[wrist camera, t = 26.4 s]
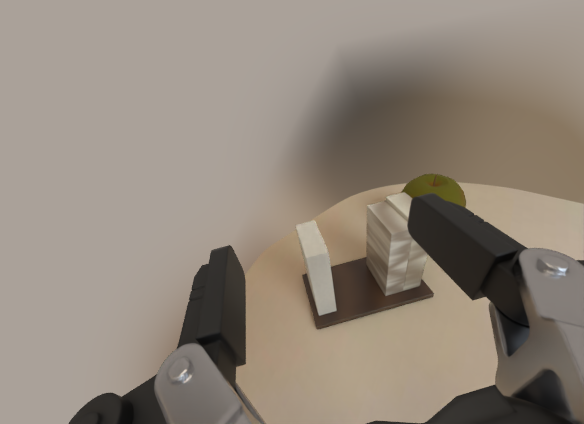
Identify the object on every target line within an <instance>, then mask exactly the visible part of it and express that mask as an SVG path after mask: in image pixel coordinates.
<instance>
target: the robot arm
mask: <svg viewBox="0 0 584 424" xmlns="http://www.w3.org/2000/svg"><path fill="white" fill-rule="evenodd" d="M407 228H408V232H409V234H410V236H411V237H412V238H413V239H414V240H415V241H416V242H417V243H418V245H419V246H420V247H421V248H422V249H423V250H424V251H425V252H426V253H427V254H428V255H429V256H430V257H431V258H432V259H433V260H434V261H435V262H436V263H437V264H438V265H439V266H440V267H441V268H442V269H443V270H444V271H445V272H446V274H447V275H448V276H449V277H450V278H451V279H452V280H453V281H454V282H455V283H456V284H457V285H458V286H459V287H460V288H461V289H462V290H463V291H464V292H465V293H466V294H467V295H468V296H469V297H470V298H471V299H472V300H476V299H479V298H483V297H487V298H488V299H489V300H490V301H491V302H490V303H489V312H490V317H491V323H492V328H493V333H494V339H495V344H496V350H497V355H498V368H497V371H496V378H495V385H492V386H489V387H486V388H482V389H479V390H476V391H473V392H469V393H466V394H463V395H459V396H457V397H455V398H454V399H453V400H452V401H451V402H450V403H448V404H447V405H446V406H445V407H444V408H442V409H441V410H440V411H439V412H438V413H437V414H435V415H434V416H433V417H432V418H431V419H430V420H428V421H427V422H425V423H404V422H388V421H374V422H370V423H367V424H584V260H574V259H573V258H571V257H569V256H567V255H565V254H562V253H559V252H556V251H553V250H549V249H543V248H530V249H528V248H526V247H525V246H523V245H521V244H520V243H518V242H517V241H515V240H514V239H512V238H511V237H509V236H508V235H506V234H505V233H503V232H501V231H500V230H498V229H497V228H495V227H494V226H492V225H491V224H489V223H488V222H484V220H483V219H481V218H480V217H478V216H477V215H474V213H472V212H471V211H469V210H468V209H466V208H465V207H463V206H461V205H458V204H455V203H452V202H450V201H445V200H444V199H442V198H441V197H439V196H438V195H437V194H435V193H428V194H425V195H421V196H417V197H414V198H413V199H412V200H411V205H410V211H409V217H408V223H407ZM189 300H190V301H189V302H188V306H187V310H186V315H185V319H184V323H183V327H182V332H181V336H180V340H179V344H178V347H177V349H176V350H175V351H174V352H172V353H171V354H170V355H169V356H168V357H167V359H166V360H165V361H164V362H163V364H162V365H161V367H160V369H159V371H158V374H156V375H155V376H154V377H152V378H151V379H149V380H148V381H146V382H145V383H143V384H141V385H140V386H138V387H137V388H135V389H133V390H132V391H130V392H129V393H127V394H126V395H124V396H122V397H121V396H118V395H116V394H114V393H105V394H102V395H100V396H97V397H96V398H94V399H92V400H91V401H90V402H88V403H87V404H86V405H85V406H84V407H82V408H81V409H80V410H79V412H77V414H76V415H75V416H74V417H73V418H72V419H71V421H70V422H69V424H266V423H265V421H264V420H263V419H262V417H261V416H260V415H259V413H258V412H257V410H256V409H255V408H254V406H253V405H252V404H251V402H250V401H249V399H248V398H247V397H246V395H245V394H244V392H243V391H242V390H241V388H240V387H239V386H238V384H237V383H236V382H235V381H236V367H237V366H241V365H244V364H246V295H245V275H244V271H243V269H242V266H241V264H240V262H239V260H238V258H237V256H236V254H235V253H234V250H233V248H232V247H231V246H230V245H229V246H225V247H222V248H218V249H214V250H212V251H211V254H210V260H209V264H206V265H202V266H201V268H200V269H199V271H198V272H197V274H196V275H195V277H194V281H193V285H192V291H191V294H190V298H189Z"/></svg>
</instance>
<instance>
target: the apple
mask: <svg viewBox="0 0 584 424" xmlns="http://www.w3.org/2000/svg"><path fill="white" fill-rule="evenodd" d="M403 192H405V193H406V194H407V195H409V196H410V197H411V198H412V199H413V198H414V197H417V196H421V195H425V194H428V193H435V194H437V195H438V196H439V197H441V198H442V199H444V200H445V201H450V202H452V203H455V204H458V205H461V206H463V207H465V206H466V199H465V196H464V192H463V190H462V189H461V187H460V186H459V185H458V184H457V183H456V182H455V181H454V180H453V179H451V178H449V177H445V176H442V175H438V174H425V175H422V176H420V177H418V178H416V179H414V180H412V181H410V182H409V183H408V184H407V185H406V186H405V188H404V189H403V191H402V192H401V193H403Z"/></svg>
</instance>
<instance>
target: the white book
mask: <svg viewBox="0 0 584 424" xmlns="http://www.w3.org/2000/svg"><path fill="white" fill-rule="evenodd" d="M296 230H297V234H298V238H299V242H300V246H301V250H302V255H303V259H304V263H305V267H306V271H307V276H308V280H309V283H310V287H311V290H312V294H313V297H314V301H315V304H316V308H317V311H318V314H319V316H320V315H323V314H327V313H331V312H334V311H337V310H336V302H335V295H334V288H333V280H332V273H331V266H330V259H329V252H328V249H327V247H326V245H325V243H324V240H323V238H322V236H321V234H320V231H319V229H318V227H317V225H316V222H315V220H313V221H310V222H306V223H302V224H299V225H296Z"/></svg>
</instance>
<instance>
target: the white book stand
mask: <svg viewBox="0 0 584 424" xmlns="http://www.w3.org/2000/svg"><path fill="white" fill-rule="evenodd" d="M411 200H412V198H411V197H410V196H409V195H407V194H406V193H405V192H403V193H399V194H395V195H391V196H388V197H386V201H382V202H378V203H375V204H371V205H367V257H365V258H362V259H358V260H354V261H351V262H347V263H343V264H340V265H336V266H333V267H331V273H332V280H333V288H334V295H335V302H336V310H337V311H334V312H331V313H327V314H323V315H320V316H319V314H318V311H317V308H316V304H315V301H314V297H313V294H312V290H311V287H310V283H309V280H308V276H307V274H304V275H303V279H304V283H305V286H306V290H307V294H308V298H309V301H310V305H311V309H312V312H313V316H314V320H315V323H316V327H317V329H321V328H324V327H328V326H331V325H335V324H338V323H342V322H346V321H349V320H353V319H356V318H360V317H363V316H367V315H370V314H374V313H377V312H381V311H384V310H388V309H391V308H395V307H398V306H402V305H405V304H409V303H412V302H416V301H419V300H423V299H426V298H430V297H433V294H434V293H433V292H432V291H431V290H430V288H429V287H428V286H427V285H426V283H425V282H424V281H423V280H422V275H423V271H424V267H425V263H426V259H427V255H428V254H427V253H426V252H425V251H424V250H423V249H422V248H421V247H420V246H419V245H418V243H417V242H416V241H415V240H414V239H413V238H412V237H411V236H410V234H409V232H408V228H407V223H408V217H409V211H410V205H411Z"/></svg>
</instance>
